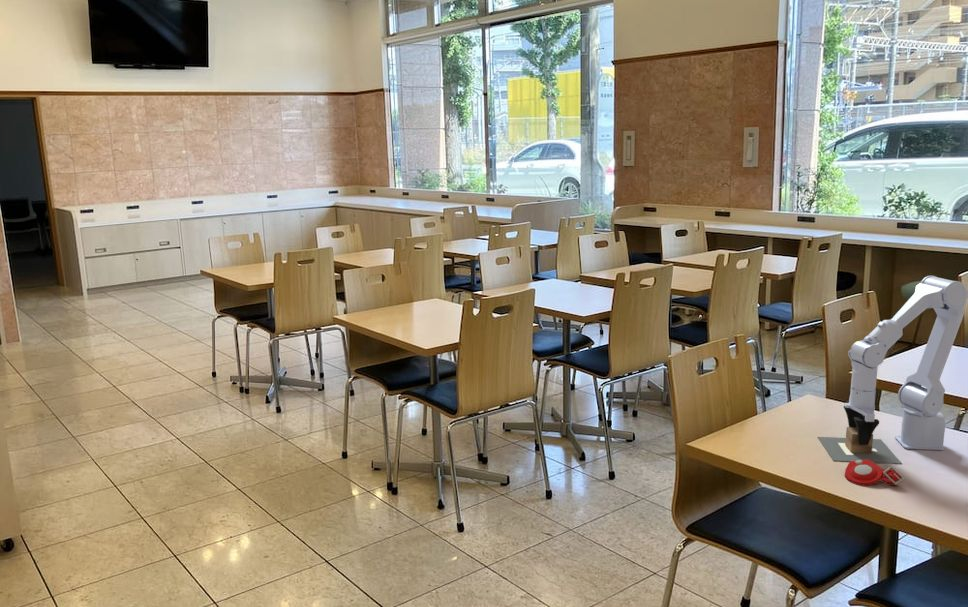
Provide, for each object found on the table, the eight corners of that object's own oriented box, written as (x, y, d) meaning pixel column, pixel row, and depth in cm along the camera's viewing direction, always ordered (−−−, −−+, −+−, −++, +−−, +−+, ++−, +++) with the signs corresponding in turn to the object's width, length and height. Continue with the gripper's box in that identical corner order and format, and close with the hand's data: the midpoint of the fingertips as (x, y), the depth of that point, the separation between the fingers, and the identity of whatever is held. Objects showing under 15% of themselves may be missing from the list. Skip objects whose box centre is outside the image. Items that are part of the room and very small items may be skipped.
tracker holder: (848, 482, 186) (838, 456, 195) (850, 497, 188) (841, 471, 196) (905, 475, 183) (892, 449, 192) (907, 490, 184) (894, 464, 193)
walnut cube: (865, 445, 209) (867, 427, 208) (871, 453, 204) (873, 434, 203) (845, 445, 209) (846, 427, 208) (850, 452, 204) (852, 434, 203)
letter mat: (880, 439, 213) (880, 439, 213) (901, 464, 198) (901, 463, 198) (817, 437, 216) (817, 436, 215) (833, 461, 200) (833, 460, 200)
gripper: (838, 379, 211) (834, 428, 214) (854, 396, 197) (850, 448, 200) (867, 380, 210) (862, 429, 212) (885, 397, 196) (880, 450, 198)
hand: (858, 438), depth 206 cm, fingers open, 7 cm apart
